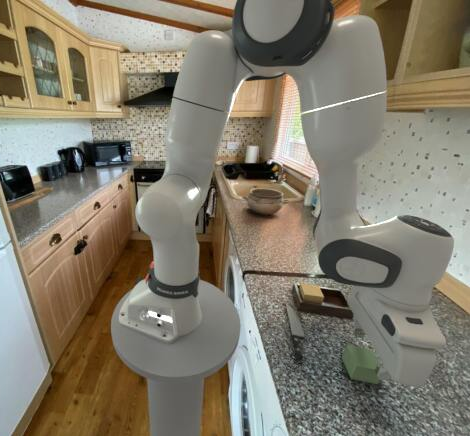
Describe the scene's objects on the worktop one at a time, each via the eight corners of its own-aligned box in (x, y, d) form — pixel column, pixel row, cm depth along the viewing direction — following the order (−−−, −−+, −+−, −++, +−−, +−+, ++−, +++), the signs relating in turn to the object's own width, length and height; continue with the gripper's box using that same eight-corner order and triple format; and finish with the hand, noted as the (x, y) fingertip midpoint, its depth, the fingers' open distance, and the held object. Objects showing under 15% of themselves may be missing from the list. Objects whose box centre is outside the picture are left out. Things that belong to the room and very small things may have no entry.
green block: (350, 379, 50) (356, 366, 49) (341, 357, 55) (346, 344, 53) (378, 384, 49) (384, 371, 48) (366, 362, 54) (371, 349, 52)
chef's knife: (295, 304, 70) (284, 302, 71) (296, 301, 70) (285, 299, 70) (311, 365, 53) (296, 361, 54) (313, 361, 52) (298, 357, 53)
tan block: (301, 305, 69) (304, 294, 67) (297, 293, 74) (300, 283, 72) (320, 308, 68) (324, 297, 67) (315, 296, 73) (318, 285, 71)
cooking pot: (283, 209, 142) (287, 189, 137) (289, 221, 125) (294, 199, 120) (240, 205, 147) (242, 185, 142) (240, 217, 130) (242, 195, 125)
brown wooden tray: (298, 310, 68) (300, 302, 67) (291, 290, 76) (293, 282, 74) (352, 318, 65) (355, 310, 64) (339, 297, 73) (342, 289, 72)
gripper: (348, 267, 55) (333, 314, 60) (405, 344, 36) (377, 402, 42) (380, 270, 53) (362, 318, 59) (456, 352, 35) (420, 411, 40)
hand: (368, 354), depth 50 cm, fingers open, 8 cm apart
